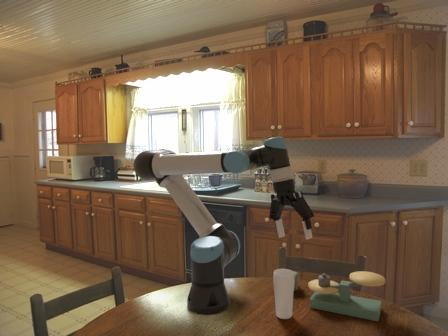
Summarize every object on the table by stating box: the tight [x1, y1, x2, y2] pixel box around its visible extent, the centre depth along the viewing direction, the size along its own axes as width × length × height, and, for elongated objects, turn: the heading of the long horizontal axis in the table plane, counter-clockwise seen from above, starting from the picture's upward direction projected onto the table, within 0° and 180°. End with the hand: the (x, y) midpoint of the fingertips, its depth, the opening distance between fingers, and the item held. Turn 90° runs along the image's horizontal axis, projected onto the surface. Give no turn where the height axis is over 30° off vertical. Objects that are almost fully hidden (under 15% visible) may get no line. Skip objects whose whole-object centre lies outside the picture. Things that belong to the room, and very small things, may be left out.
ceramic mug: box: [292, 270, 301, 292], centre depth 140 cm, size 11×8×8 cm
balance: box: [307, 270, 386, 322], centre depth 121 cm, size 25×11×12 cm, turn 62°
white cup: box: [272, 268, 295, 320], centre depth 117 cm, size 7×7×15 cm
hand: (295, 237), depth 127 cm, fingers open, 13 cm apart
